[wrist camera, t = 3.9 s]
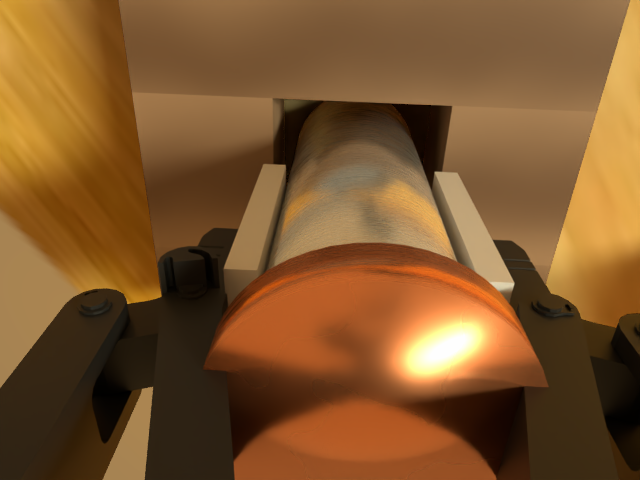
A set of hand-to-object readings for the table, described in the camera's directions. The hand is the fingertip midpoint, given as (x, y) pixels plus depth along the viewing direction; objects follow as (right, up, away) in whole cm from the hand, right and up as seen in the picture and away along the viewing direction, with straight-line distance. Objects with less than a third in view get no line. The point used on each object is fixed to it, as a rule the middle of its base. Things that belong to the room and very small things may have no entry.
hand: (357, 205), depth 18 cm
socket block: (0, +3, +5) cm, 6 cm away
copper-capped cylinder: (0, +3, +5) cm, 6 cm away
